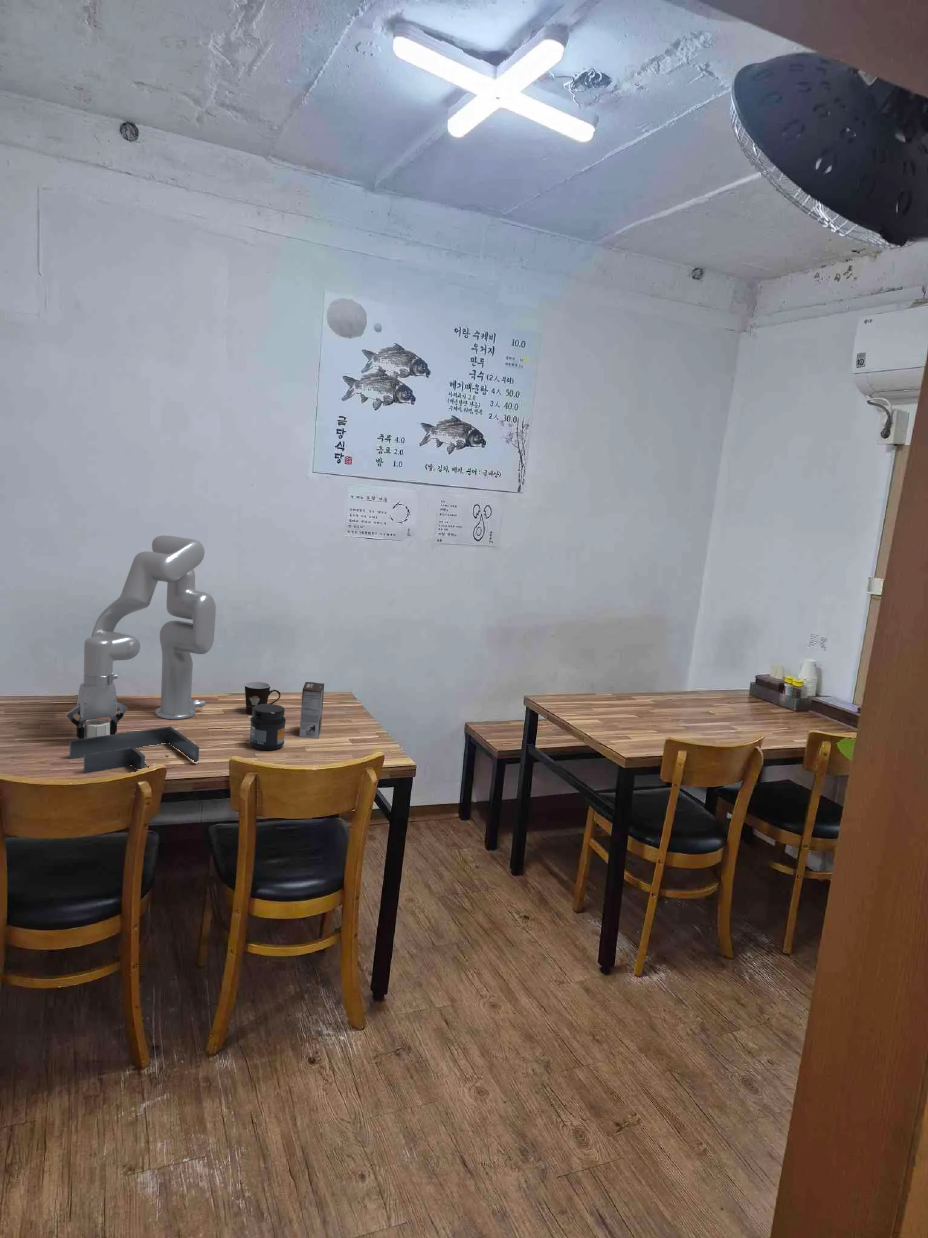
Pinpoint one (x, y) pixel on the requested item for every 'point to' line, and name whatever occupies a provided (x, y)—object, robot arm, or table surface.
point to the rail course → (127, 748)
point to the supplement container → (267, 727)
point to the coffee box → (311, 709)
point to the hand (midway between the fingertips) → (96, 737)
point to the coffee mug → (257, 695)
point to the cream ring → (96, 728)
